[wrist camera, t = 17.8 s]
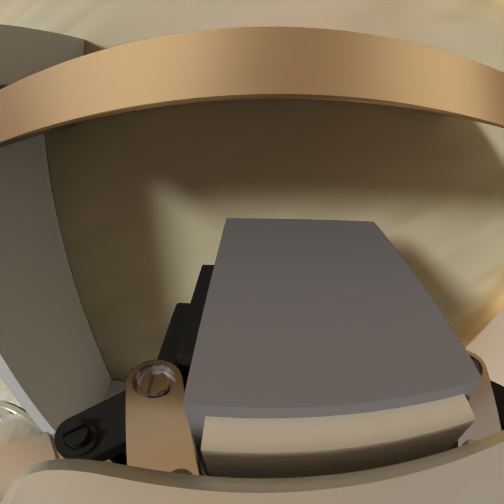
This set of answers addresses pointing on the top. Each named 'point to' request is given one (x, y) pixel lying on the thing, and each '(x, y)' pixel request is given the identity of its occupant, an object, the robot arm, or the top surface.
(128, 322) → the top surface
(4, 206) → the wall
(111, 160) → the top surface
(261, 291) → the grey rectangular block
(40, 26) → the top surface
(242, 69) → the door
